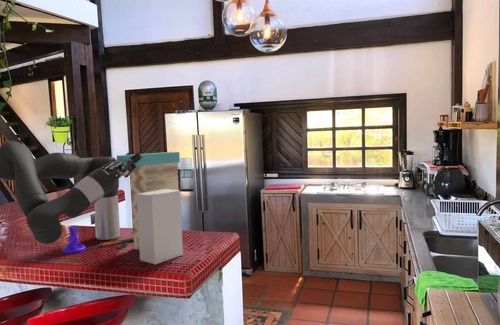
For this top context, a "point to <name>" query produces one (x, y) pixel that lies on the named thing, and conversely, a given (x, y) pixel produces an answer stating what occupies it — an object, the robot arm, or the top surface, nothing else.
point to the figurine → (73, 242)
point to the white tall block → (159, 225)
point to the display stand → (150, 186)
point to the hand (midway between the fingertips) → (135, 155)
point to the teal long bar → (152, 158)
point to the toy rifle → (122, 242)
